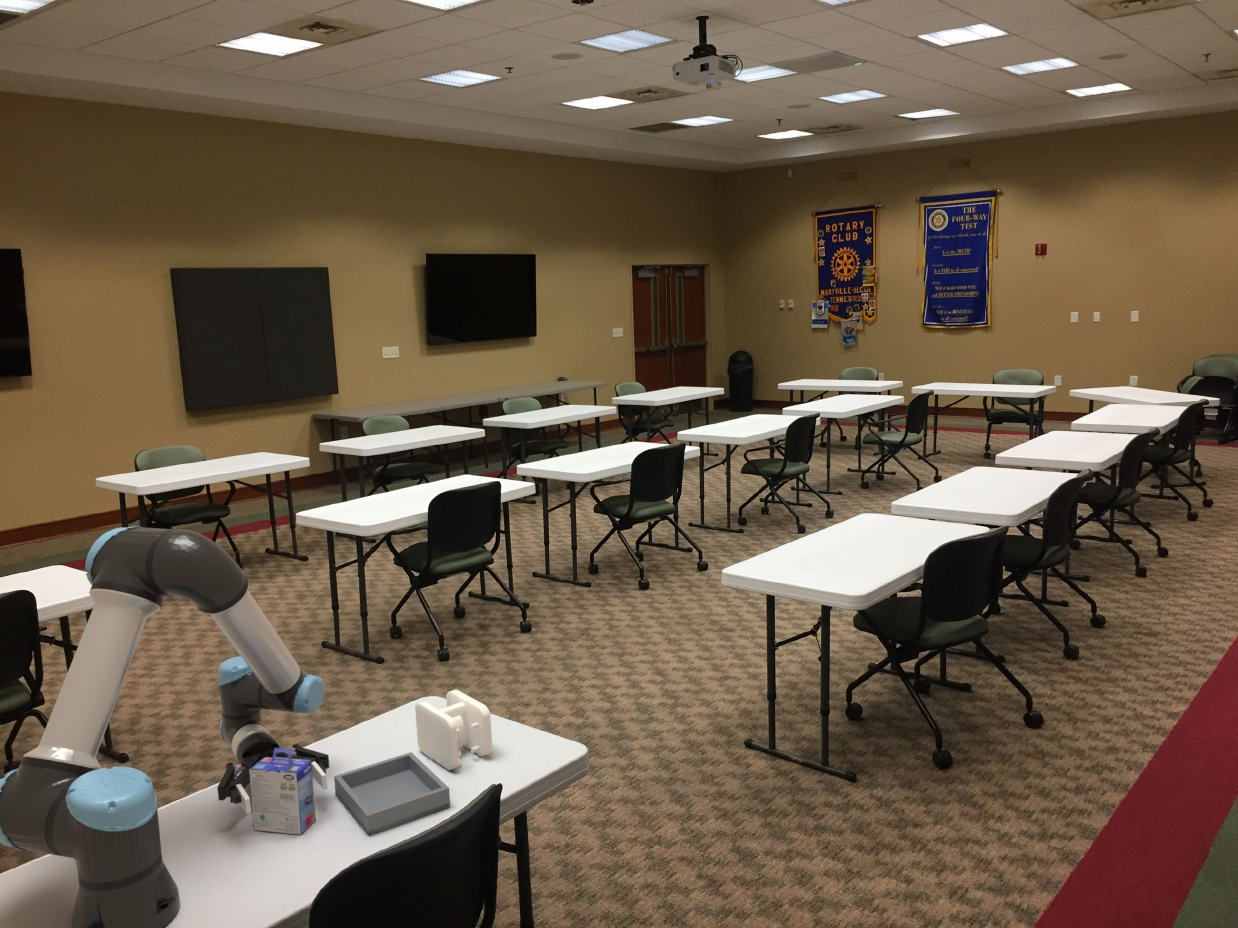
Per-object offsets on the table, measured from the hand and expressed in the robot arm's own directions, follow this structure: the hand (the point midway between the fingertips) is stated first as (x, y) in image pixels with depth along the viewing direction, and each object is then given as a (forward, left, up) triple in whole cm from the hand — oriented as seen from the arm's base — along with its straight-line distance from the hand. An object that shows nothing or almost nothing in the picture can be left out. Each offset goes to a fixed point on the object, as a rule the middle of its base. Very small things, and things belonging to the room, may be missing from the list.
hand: (287, 793), depth 170 cm
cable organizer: (+37, +9, -8) cm, 39 cm away
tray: (+19, -1, -8) cm, 21 cm away
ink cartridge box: (0, +3, -8) cm, 9 cm away
